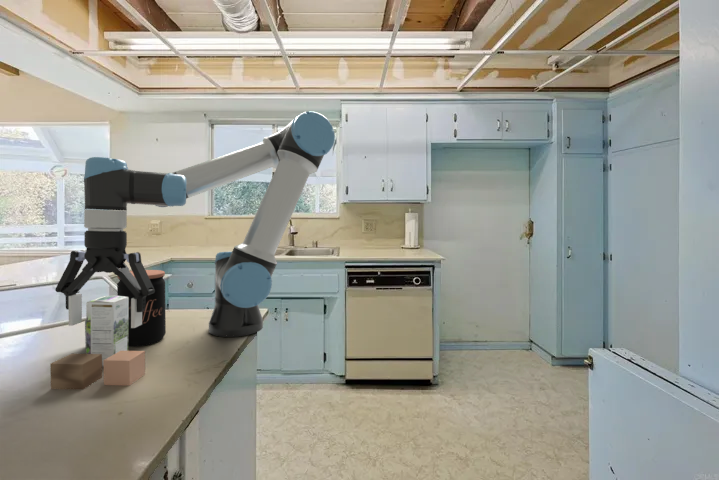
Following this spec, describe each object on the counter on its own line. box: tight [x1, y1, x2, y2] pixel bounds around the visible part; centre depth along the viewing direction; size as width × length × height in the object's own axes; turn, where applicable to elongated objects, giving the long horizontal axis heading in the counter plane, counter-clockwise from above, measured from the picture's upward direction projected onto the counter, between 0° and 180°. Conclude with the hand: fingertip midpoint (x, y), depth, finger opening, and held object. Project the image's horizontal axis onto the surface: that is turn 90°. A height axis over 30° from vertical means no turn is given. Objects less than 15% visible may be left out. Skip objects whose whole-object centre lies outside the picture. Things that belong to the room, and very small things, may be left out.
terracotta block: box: [103, 350, 146, 386], centre depth 70 cm, size 5×5×5 cm
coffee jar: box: [116, 269, 167, 348], centre depth 92 cm, size 11×11×18 cm
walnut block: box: [49, 353, 103, 391], centre depth 68 cm, size 6×5×5 cm
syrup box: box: [85, 295, 129, 368], centre depth 78 cm, size 6×6×14 cm
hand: (106, 325), depth 78 cm, fingers open, 13 cm apart
